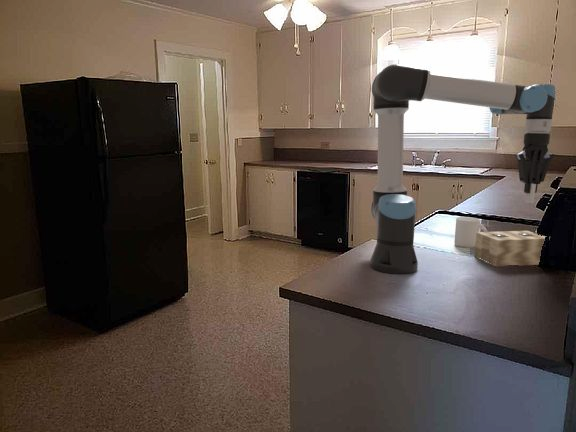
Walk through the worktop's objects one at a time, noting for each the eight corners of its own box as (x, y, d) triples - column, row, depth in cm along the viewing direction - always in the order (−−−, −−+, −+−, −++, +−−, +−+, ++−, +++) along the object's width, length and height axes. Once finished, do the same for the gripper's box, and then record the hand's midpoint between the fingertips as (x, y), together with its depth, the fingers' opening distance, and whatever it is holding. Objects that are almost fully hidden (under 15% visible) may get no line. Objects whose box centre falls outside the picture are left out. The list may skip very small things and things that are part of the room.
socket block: (494, 266, 145) (497, 240, 143) (474, 256, 157) (476, 232, 155) (548, 264, 148) (551, 238, 146) (524, 254, 160) (527, 230, 158)
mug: (483, 250, 164) (485, 223, 162) (451, 245, 172) (453, 219, 170) (489, 246, 171) (492, 219, 169) (458, 241, 178) (460, 215, 176)
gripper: (527, 132, 140) (519, 204, 145) (563, 132, 142) (554, 204, 147) (512, 132, 148) (504, 201, 152) (546, 132, 150) (538, 200, 154)
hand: (529, 202), depth 149 cm, fingers closed
